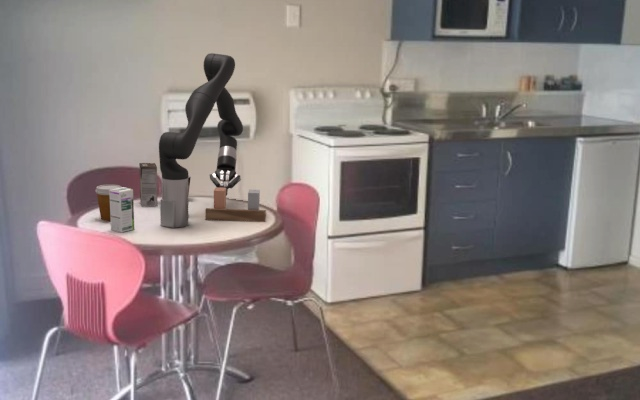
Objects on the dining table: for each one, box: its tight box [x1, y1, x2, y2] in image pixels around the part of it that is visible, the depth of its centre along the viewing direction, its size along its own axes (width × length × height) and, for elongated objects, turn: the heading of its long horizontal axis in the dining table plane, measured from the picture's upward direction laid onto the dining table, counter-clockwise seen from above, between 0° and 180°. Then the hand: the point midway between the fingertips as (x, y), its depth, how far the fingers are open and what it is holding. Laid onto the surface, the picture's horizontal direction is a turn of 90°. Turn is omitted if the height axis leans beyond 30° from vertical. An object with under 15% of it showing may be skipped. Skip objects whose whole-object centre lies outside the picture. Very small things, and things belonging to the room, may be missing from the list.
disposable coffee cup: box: [95, 184, 122, 222], centre depth 245 cm, size 10×10×12 cm
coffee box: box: [139, 162, 158, 208], centre depth 269 cm, size 9×6×16 cm
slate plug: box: [247, 189, 261, 210], centre depth 255 cm, size 6×4×10 cm, turn 2°
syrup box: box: [109, 186, 135, 234], centre depth 231 cm, size 6×6×14 cm
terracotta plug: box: [213, 186, 227, 209], centre depth 256 cm, size 6×4×10 cm, turn 2°
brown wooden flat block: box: [204, 207, 267, 223], centre depth 256 cm, size 12×22×4 cm, turn 92°
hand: (223, 195), depth 265 cm, fingers closed
